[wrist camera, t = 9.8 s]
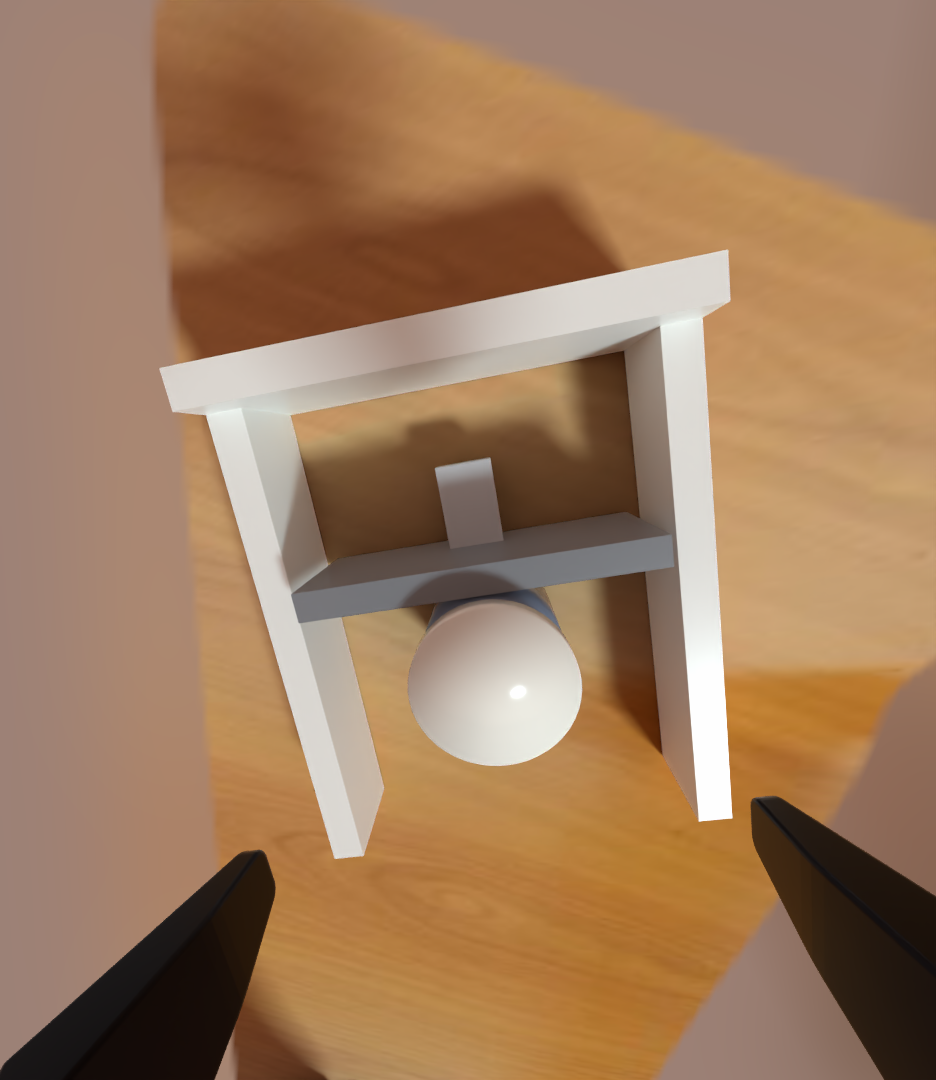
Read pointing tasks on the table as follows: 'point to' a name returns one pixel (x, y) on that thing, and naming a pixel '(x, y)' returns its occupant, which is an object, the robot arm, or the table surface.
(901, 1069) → the robot arm
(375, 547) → the table surface
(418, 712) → the jar
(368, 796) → the lane
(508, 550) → the pusher
